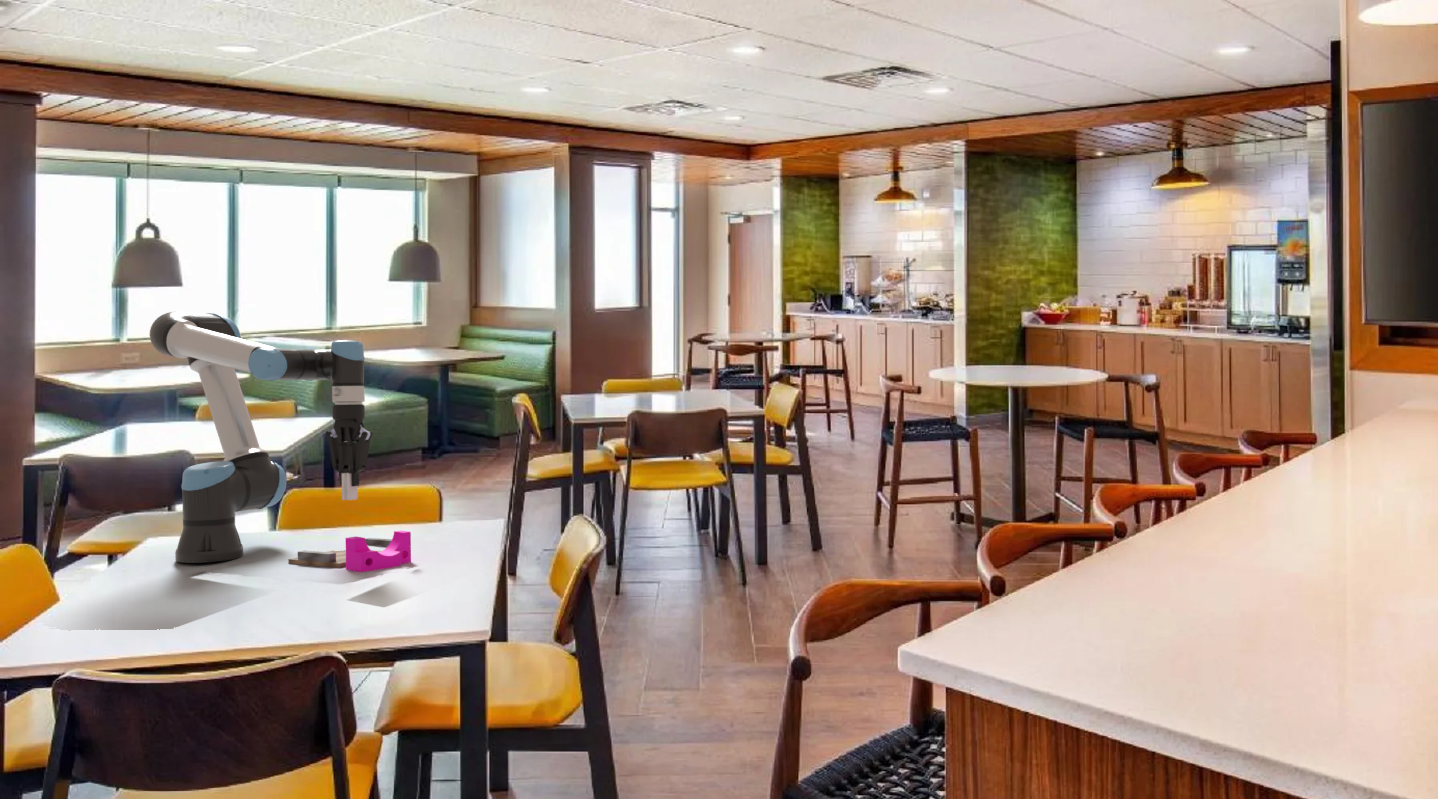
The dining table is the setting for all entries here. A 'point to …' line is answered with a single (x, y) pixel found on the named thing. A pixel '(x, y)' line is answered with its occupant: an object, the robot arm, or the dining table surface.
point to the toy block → (370, 560)
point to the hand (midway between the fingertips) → (349, 499)
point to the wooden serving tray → (331, 555)
